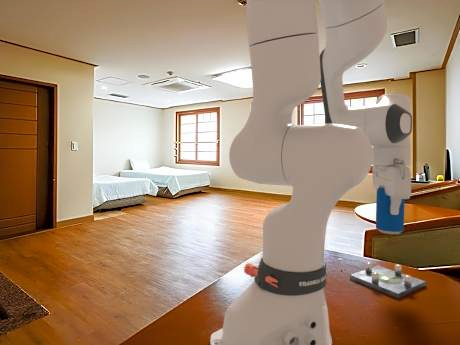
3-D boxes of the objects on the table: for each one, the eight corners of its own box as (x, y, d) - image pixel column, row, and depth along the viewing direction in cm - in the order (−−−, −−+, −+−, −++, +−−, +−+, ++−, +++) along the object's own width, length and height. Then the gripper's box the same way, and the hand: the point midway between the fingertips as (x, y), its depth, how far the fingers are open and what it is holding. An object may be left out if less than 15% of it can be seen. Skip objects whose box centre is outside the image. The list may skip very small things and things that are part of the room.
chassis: (397, 298, 70) (398, 283, 70) (349, 279, 81) (350, 266, 81) (425, 285, 77) (426, 272, 77) (377, 269, 88) (378, 257, 88)
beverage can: (405, 231, 79) (407, 186, 78) (400, 236, 74) (402, 188, 73) (379, 227, 83) (380, 184, 82) (372, 232, 78) (373, 186, 77)
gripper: (420, 159, 66) (418, 220, 67) (392, 158, 86) (391, 205, 87) (389, 159, 68) (387, 219, 68) (369, 158, 87) (367, 204, 88)
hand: (389, 211), depth 78 cm, fingers closed on beverage can, 6 cm apart
